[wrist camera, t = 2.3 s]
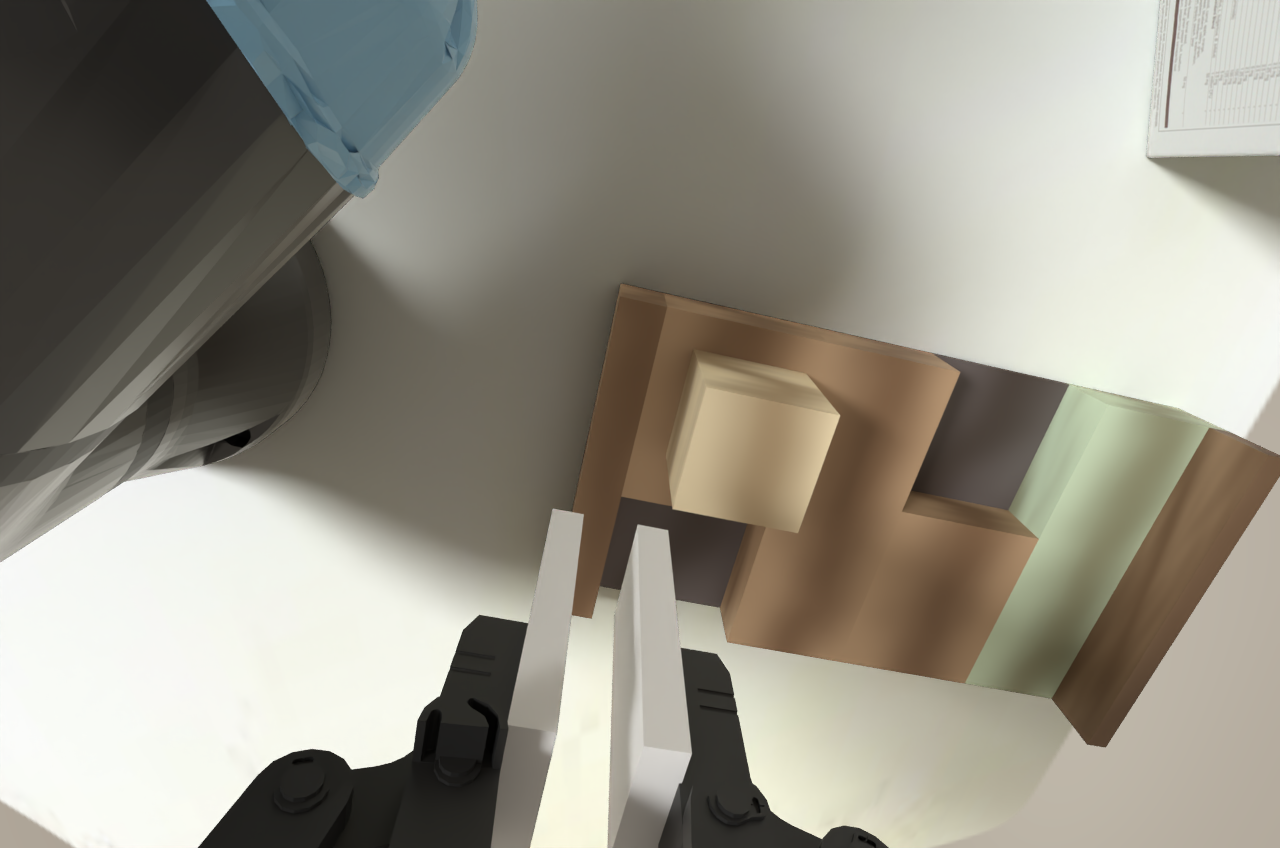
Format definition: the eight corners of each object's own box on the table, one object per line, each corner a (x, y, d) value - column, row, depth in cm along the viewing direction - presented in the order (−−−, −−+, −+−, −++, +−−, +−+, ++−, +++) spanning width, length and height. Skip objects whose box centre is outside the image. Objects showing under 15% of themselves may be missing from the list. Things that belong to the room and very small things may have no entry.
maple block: (665, 454, 30) (672, 509, 26) (693, 348, 28) (706, 387, 24) (772, 475, 31) (798, 533, 26) (806, 373, 29) (840, 415, 24)
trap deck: (557, 576, 36) (544, 653, 30) (620, 283, 30) (619, 312, 25) (1036, 662, 39) (1105, 747, 33) (1178, 408, 33) (1290, 460, 27)
